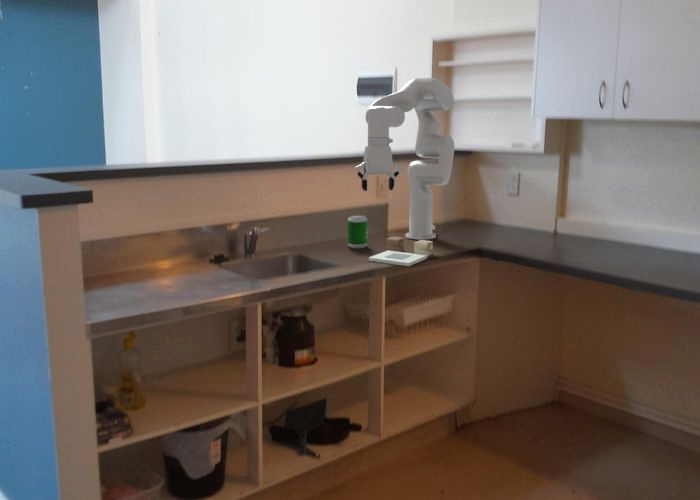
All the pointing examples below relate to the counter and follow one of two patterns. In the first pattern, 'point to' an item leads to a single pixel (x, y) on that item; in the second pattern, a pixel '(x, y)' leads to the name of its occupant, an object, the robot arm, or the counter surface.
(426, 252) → the maple cube
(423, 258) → the build board
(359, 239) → the soda can
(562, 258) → the counter surface
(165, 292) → the counter surface
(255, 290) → the counter surface
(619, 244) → the counter surface
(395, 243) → the walnut cube
